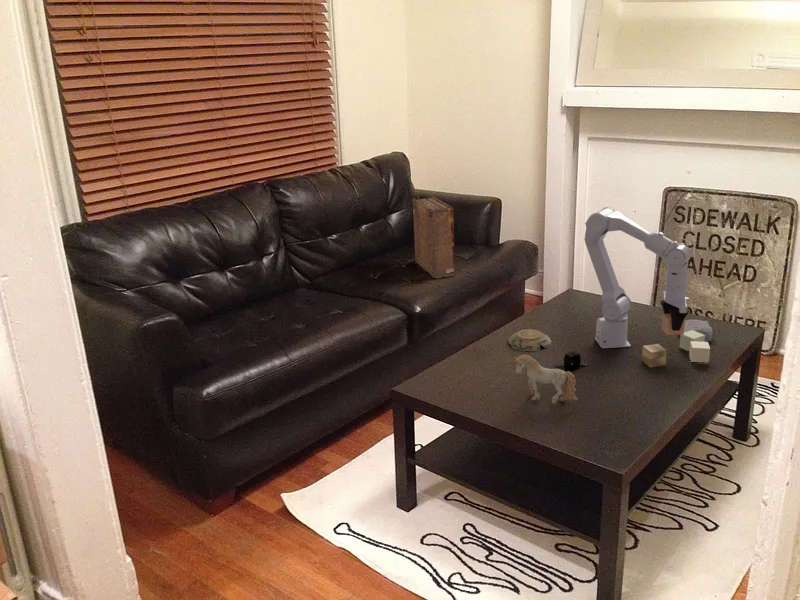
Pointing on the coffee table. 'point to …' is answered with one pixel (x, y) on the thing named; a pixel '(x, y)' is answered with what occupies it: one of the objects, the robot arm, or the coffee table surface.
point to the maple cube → (654, 355)
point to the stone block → (699, 328)
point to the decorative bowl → (529, 340)
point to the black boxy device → (572, 362)
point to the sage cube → (690, 339)
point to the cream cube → (699, 351)
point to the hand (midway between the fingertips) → (672, 326)
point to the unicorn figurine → (546, 378)
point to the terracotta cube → (670, 325)
